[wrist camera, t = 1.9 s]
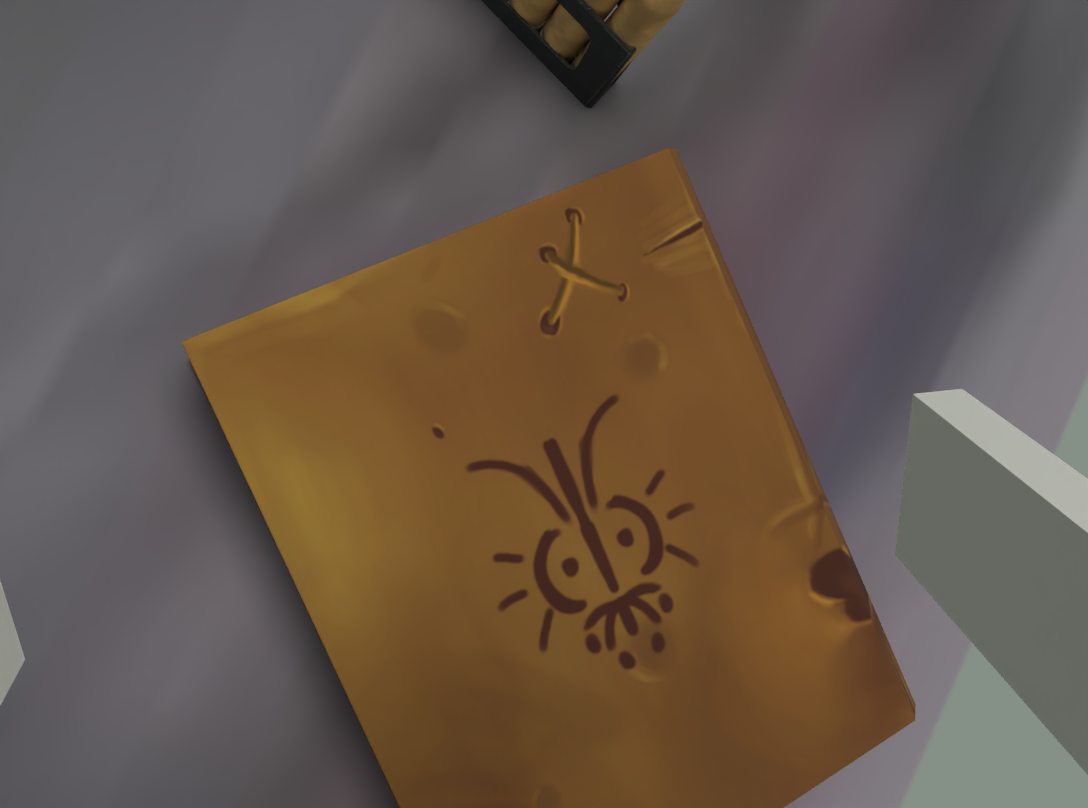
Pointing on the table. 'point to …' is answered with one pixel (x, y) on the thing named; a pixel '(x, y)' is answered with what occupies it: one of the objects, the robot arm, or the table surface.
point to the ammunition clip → (585, 36)
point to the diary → (559, 514)
